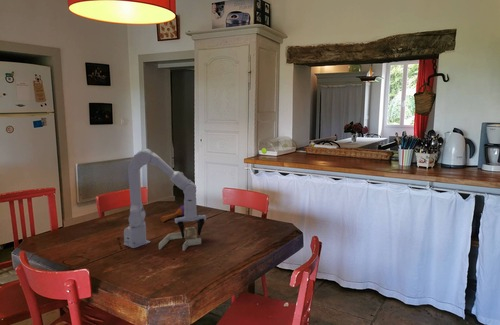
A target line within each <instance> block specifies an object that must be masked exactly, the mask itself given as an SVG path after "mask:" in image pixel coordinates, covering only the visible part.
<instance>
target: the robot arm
mask: <svg viewBox="0 0 500 325" xmlns="http://www.w3.org/2000/svg"><path fill="white" fill-rule="evenodd" d="M148 163H149V165H150V166H156V167H157V168H159V169H160V170H162V171H163V172H164V173H165V174H166V175H168V177H169V179H170V182H172V183H173V184H174V185H175V186H176V187H177V188H178V189H180V190H182V192H183V194H184V199H183V205H184V215H183V216H181V217H176V218H175V217H174V223H175V224H177V226H178V228H179V232H181V235H182V238H181V239H185V238H184V232H185V224H184V223H185V222H186V223H187V222H195V221H196V223H197V236H201V233H202V229H203V227H204V225H205V221H206V220H207V215H206V214H197V212H198V211H197V194H196V193H197V185H196V184H195V182H194V181H192V180H191V179H188V178H187V176H185V175H184V173H183V171H178V170H174V169H173V168H172V167H171V166H170V165H168V163H167V162H165V160H164V159H162V158H161V157H160V155H159V154H157V153H155V152H153V151H152V150H151V149H149V148H147V147H146V148H143V149H141V150H139V151H138V152H137V153H136V154H134V155H133V157H132V159H131V161H130V162H129V164H128V165H127V174H128V175H127V176H128V187H129V197H130V200H129V201H130V209H129V215H128V220H127V221H128V223H129V225H128V227H125V228H124V230H123V242H124V243H123V245H124V246H127V247H129V248H131V249H135V248H139V247H141V246H144V245H147V244H150V243H151V240H147V224H146V221H145V218H146V216H147V213H146V211H145V209H144V205H143V203H142V202H143V201H142V200H143V198H142V189H141V176H140V174H141V173H140V170H141V169H142V168H143V166H145V165H148Z"/></svg>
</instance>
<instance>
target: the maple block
mask: <svg viewBox="0 0 500 325" xmlns="http://www.w3.org/2000/svg"><path fill="white" fill-rule="evenodd" d="M184 232H185V238H184V239H185V241H186V240H187V239H195V238H198V237H197V236H198V229H197V228H196V227H195V226H189V227H184Z"/></svg>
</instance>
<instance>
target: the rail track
mask: <svg viewBox="0 0 500 325" xmlns="http://www.w3.org/2000/svg"><path fill="white" fill-rule="evenodd" d="M178 239H185V231H184V238H182V235H181V231H179V232H173V233H171V232H170V233H168V234H167V235H166V236H165V237H164V238H163V239H162V240H160V242H159V243H158V250H159V251H161V249H163V248H164V247H165V245H166V244H168V242H170V241H172V240H178ZM196 245H202V237H197V238H195V239H187V240H185V241H184V242H183V244H182V252H184V251H185V250H187V248H188V247H190V246H196Z"/></svg>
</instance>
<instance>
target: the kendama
mask: <svg viewBox="0 0 500 325" xmlns="http://www.w3.org/2000/svg"><path fill="white" fill-rule="evenodd" d="M174 216H184V204H182V205H180V207H178V209H177V210H176V211H175V212H174V213H173V212H172V213H170V214H166V215H163V216H160V217H159V220H160V222H161V223H165V222H166V221H168V220H170V219H171V218H173V217H174Z"/></svg>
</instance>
